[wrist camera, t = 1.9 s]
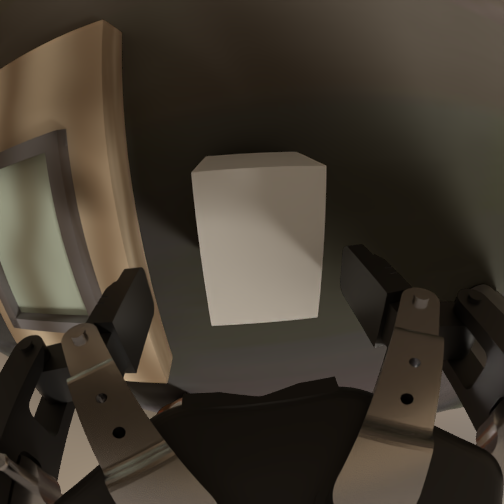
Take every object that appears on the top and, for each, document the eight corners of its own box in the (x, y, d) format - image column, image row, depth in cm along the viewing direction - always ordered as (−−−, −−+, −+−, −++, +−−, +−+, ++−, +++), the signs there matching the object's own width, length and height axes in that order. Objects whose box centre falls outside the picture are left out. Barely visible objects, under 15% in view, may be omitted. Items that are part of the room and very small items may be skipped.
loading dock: (122, 32, 12) (95, 14, 8) (172, 356, 23) (165, 392, 19) (-24, 102, 11) (-55, 106, 8) (43, 348, 22) (27, 374, 19)
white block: (292, 150, 16) (326, 165, 10) (292, 255, 19) (317, 317, 13) (207, 154, 16) (191, 172, 10) (218, 260, 19) (211, 325, 13)
